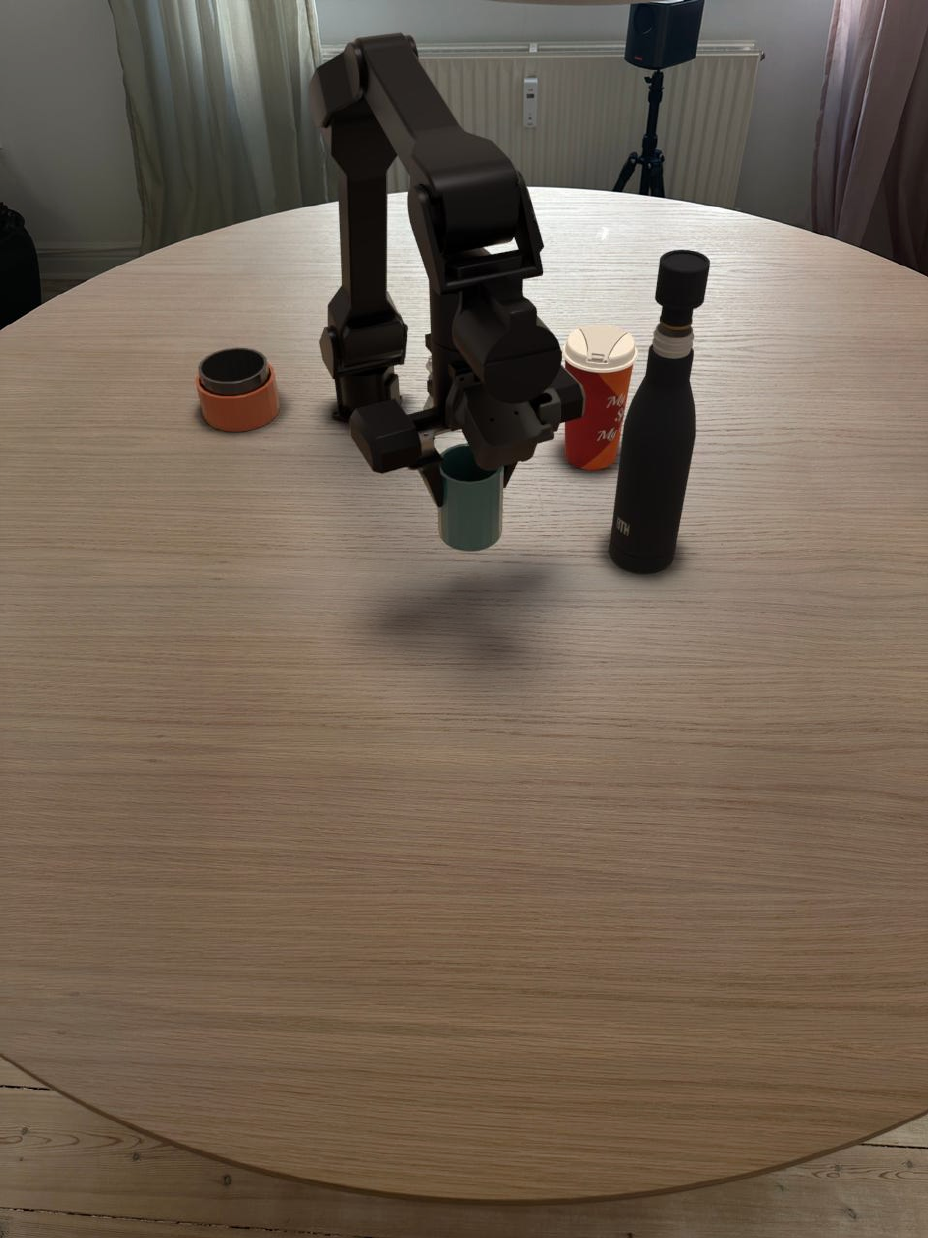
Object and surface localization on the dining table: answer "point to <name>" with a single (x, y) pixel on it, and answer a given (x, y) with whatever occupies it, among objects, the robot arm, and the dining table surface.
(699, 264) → the black insulated water bottle
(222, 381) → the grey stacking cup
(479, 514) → the teal cup
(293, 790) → the dining table surface
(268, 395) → the stack base cup
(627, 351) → the paper cup
